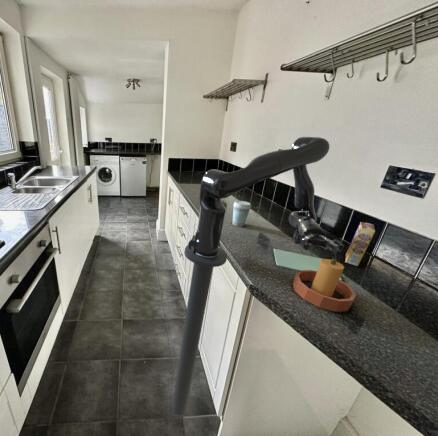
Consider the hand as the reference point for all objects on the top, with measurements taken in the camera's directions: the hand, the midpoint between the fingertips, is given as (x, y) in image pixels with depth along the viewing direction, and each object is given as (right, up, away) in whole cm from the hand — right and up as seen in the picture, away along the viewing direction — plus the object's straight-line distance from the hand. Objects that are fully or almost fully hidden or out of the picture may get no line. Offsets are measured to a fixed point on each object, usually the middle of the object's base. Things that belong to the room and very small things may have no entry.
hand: (322, 250), depth 76 cm
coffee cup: (-10, +7, +45) cm, 47 cm away
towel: (+2, -6, +12) cm, 14 cm away
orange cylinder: (-4, -13, -5) cm, 14 cm away
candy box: (+24, -6, +16) cm, 30 cm away
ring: (-4, -13, -5) cm, 14 cm away
